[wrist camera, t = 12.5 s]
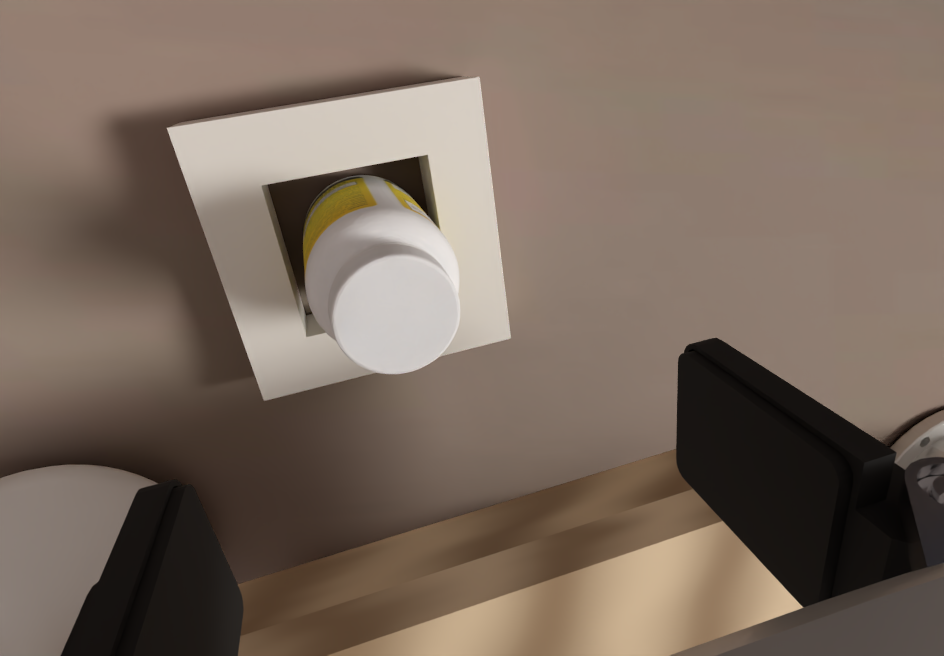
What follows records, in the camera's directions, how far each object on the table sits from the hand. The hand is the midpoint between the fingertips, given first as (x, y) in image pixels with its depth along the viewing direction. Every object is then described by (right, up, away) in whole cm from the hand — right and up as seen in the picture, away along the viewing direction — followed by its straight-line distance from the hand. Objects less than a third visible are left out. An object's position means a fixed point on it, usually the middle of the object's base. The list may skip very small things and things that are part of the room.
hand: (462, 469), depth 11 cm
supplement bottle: (-5, +7, +15) cm, 17 cm away
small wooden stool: (-1, -5, +21) cm, 22 cm away
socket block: (-5, +7, +15) cm, 17 cm away
